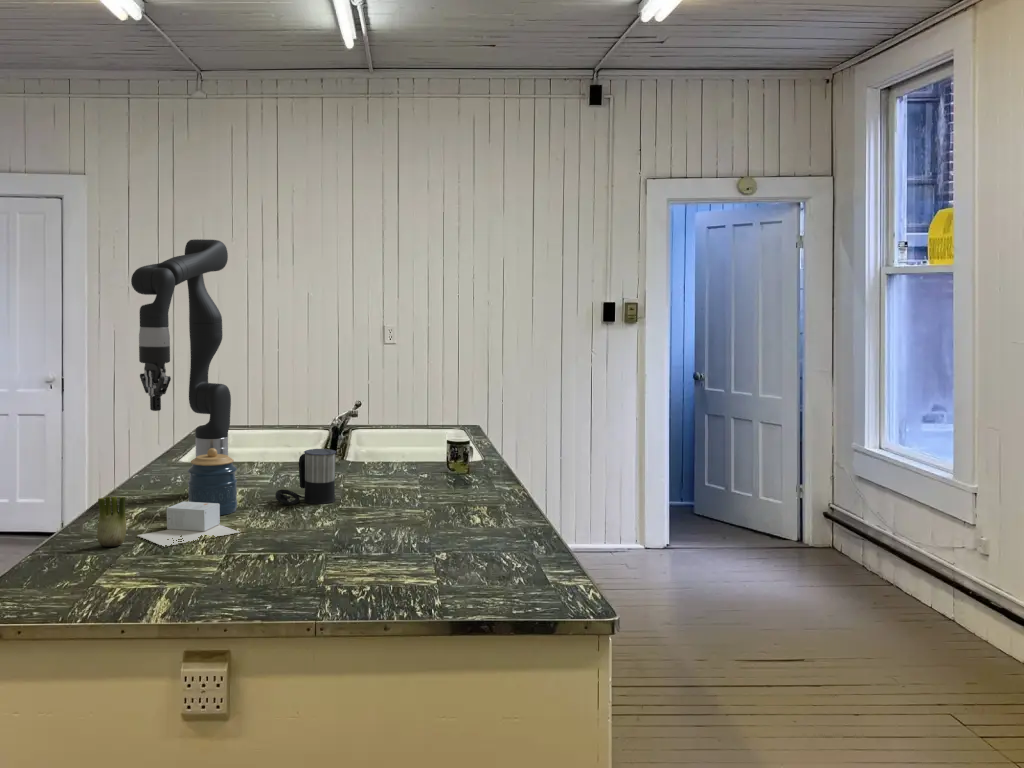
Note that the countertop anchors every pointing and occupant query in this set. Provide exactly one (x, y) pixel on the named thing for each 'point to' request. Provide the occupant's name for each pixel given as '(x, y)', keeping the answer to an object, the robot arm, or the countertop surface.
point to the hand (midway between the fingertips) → (155, 410)
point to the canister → (213, 481)
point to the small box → (193, 516)
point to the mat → (184, 535)
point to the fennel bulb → (111, 522)
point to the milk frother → (314, 478)
